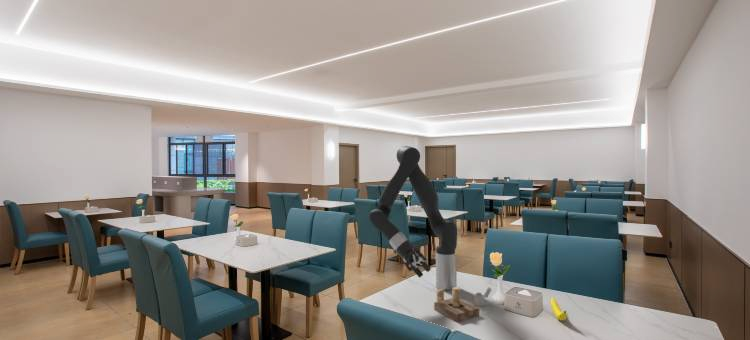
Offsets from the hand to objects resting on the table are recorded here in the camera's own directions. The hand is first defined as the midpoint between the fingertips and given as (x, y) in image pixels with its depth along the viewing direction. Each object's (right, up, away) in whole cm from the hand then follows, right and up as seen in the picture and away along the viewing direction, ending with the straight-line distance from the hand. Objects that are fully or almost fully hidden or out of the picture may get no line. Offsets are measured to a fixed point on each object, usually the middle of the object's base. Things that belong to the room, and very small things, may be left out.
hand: (425, 273), depth 162 cm
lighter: (+25, -14, 0) cm, 28 cm away
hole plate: (+12, -14, -8) cm, 20 cm away
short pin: (+8, -14, +6) cm, 17 cm away
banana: (+51, -14, -13) cm, 55 cm away
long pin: (+12, -14, -8) cm, 20 cm away
